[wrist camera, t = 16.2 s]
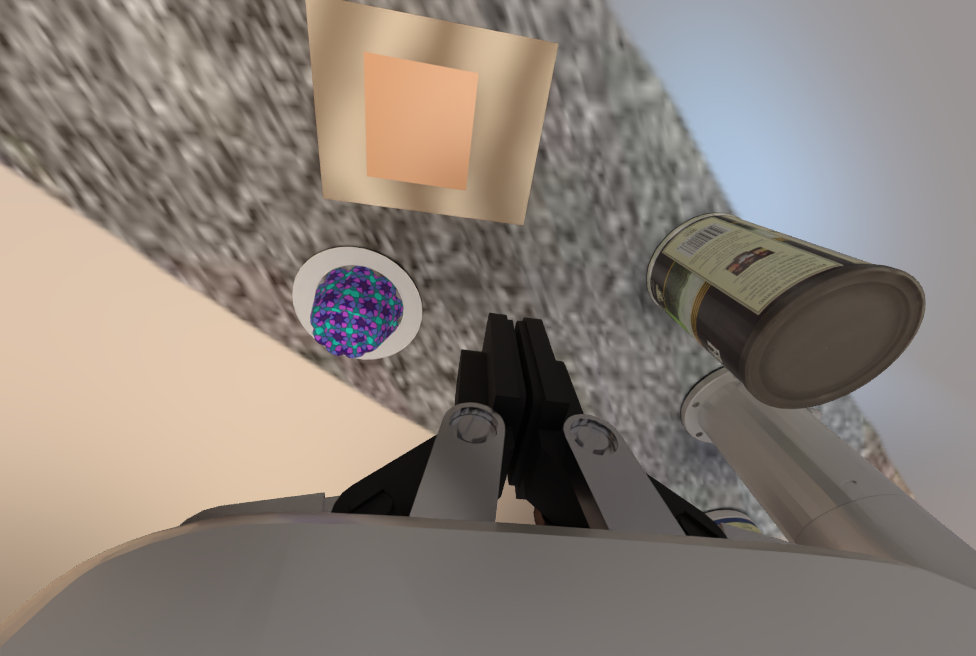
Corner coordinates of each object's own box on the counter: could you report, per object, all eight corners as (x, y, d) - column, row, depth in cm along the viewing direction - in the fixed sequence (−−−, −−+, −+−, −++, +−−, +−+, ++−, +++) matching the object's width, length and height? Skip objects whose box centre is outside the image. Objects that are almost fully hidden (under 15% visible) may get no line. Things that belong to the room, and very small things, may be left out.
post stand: (553, 47, 24) (591, 15, 17) (521, 221, 30) (538, 252, 23) (314, 0, 22) (240, -60, 15) (329, 195, 28) (282, 219, 21)
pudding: (432, 260, 32) (426, 283, 27) (413, 363, 38) (406, 396, 33) (294, 230, 30) (263, 248, 25) (297, 343, 36) (272, 375, 31)
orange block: (475, 85, 23) (478, 73, 17) (466, 175, 26) (465, 190, 20) (389, 69, 22) (363, 51, 17) (389, 164, 25) (366, 176, 20)
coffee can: (701, 327, 37) (817, 427, 25) (624, 291, 34) (711, 382, 22) (779, 240, 32) (965, 310, 20) (697, 191, 30) (856, 237, 18)
